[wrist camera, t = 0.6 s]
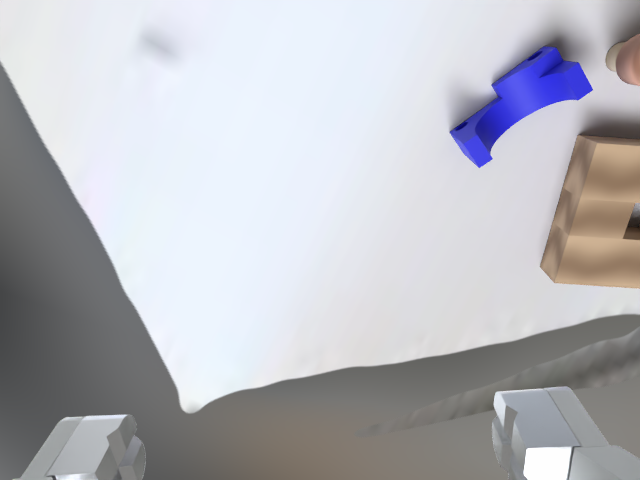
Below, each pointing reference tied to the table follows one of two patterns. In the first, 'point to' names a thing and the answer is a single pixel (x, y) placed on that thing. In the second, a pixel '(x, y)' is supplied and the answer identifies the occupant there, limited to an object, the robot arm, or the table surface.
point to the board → (597, 216)
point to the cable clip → (520, 100)
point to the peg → (626, 60)
